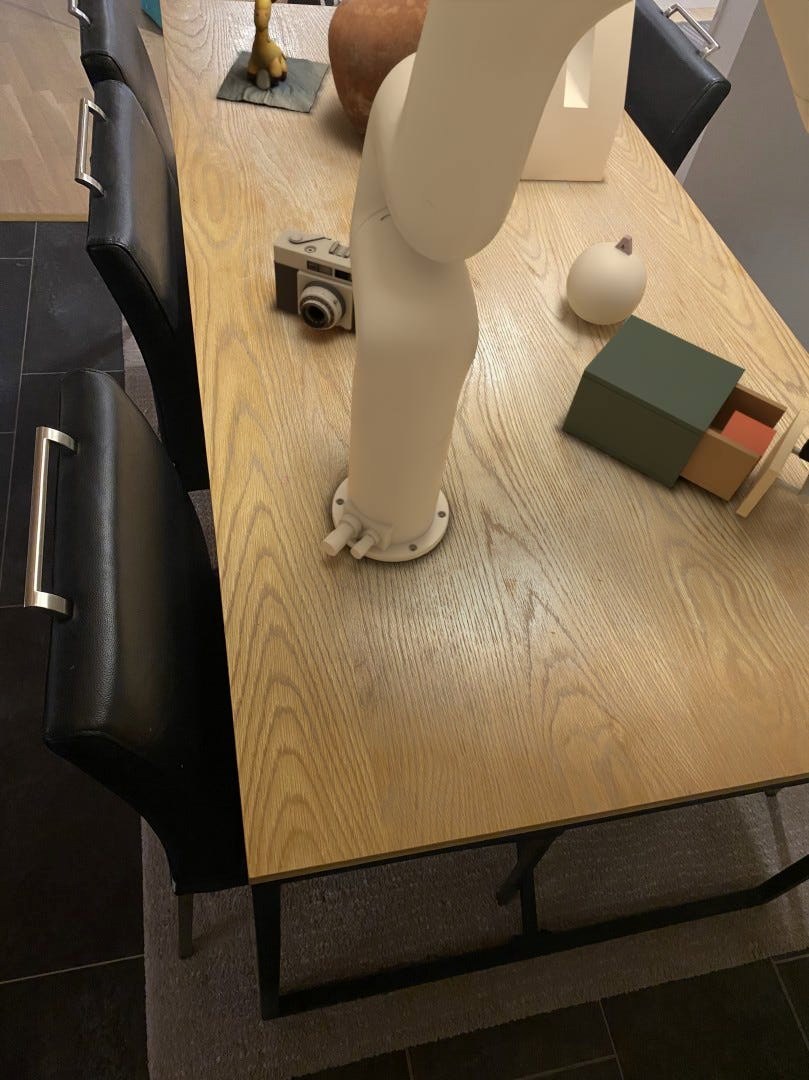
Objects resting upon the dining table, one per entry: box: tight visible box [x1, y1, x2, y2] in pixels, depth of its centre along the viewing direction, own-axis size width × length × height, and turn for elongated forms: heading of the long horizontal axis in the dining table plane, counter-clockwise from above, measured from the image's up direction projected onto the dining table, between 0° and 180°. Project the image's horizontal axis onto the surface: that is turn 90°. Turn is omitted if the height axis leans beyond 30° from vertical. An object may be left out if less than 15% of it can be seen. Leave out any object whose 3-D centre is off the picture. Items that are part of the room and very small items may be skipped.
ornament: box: [565, 234, 648, 326], centre depth 100 cm, size 10×10×12 cm
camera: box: [272, 227, 356, 334], centre depth 95 cm, size 14×8×10 cm, turn 71°
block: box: [721, 411, 778, 486], centre depth 87 cm, size 5×5×5 cm
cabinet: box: [561, 314, 746, 489], centre depth 89 cm, size 15×13×10 cm
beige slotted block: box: [520, 0, 636, 182], centre depth 120 cm, size 19×15×25 cm
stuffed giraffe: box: [215, 0, 329, 113], centre depth 129 cm, size 16×18×16 cm
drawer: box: [679, 382, 809, 518], centre depth 86 cm, size 18×11×8 cm, turn 55°
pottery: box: [327, 0, 430, 136], centre depth 119 cm, size 23×23×25 cm
